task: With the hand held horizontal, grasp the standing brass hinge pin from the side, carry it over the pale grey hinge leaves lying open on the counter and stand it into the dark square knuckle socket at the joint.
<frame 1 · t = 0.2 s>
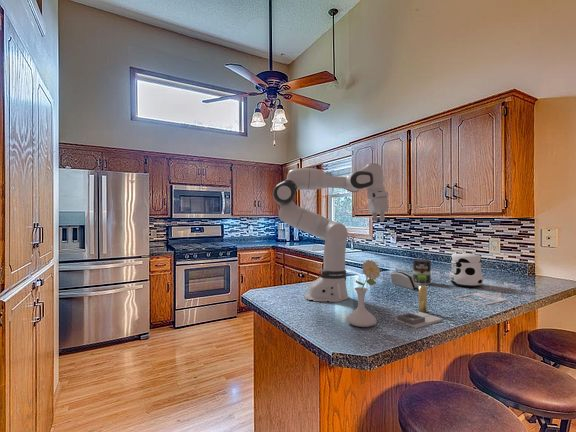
hand: (378, 221, 160), 39 cm above the countertop, tool pointing down, fingers open, 8 cm apart
photo frame: (481, 300, 154), on the countertop
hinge: (403, 286, 183), on the countertop
hinge pin: (422, 311, 134), on the countertop
flower in vase: (363, 324, 119), on the countertop
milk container: (466, 285, 184), on the countertop
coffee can: (421, 283, 191), on the countertop
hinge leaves: (418, 320, 123), on the countertop
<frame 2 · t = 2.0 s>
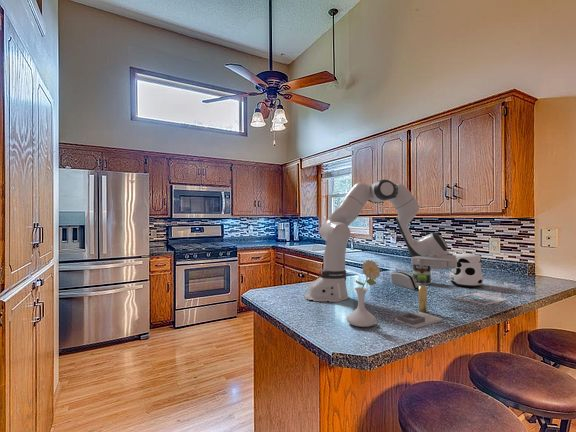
hand: (429, 263, 144), 19 cm above the countertop, tool horizontal, fingers open, 8 cm apart
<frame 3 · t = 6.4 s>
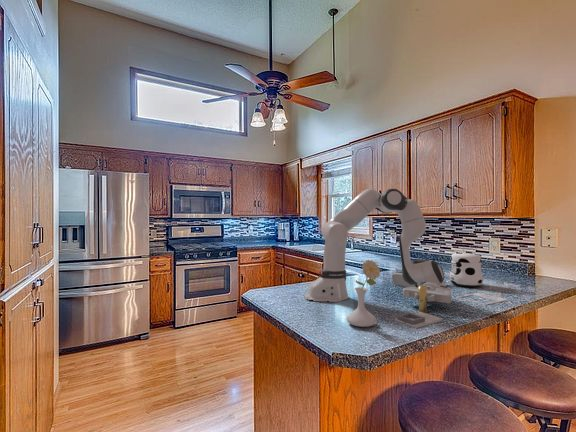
hand: (422, 298, 134), 6 cm above the countertop, tool horizontal, fingers closed on hinge pin, 3 cm apart
hinge pin: (422, 311, 134), on the countertop, touching gripper
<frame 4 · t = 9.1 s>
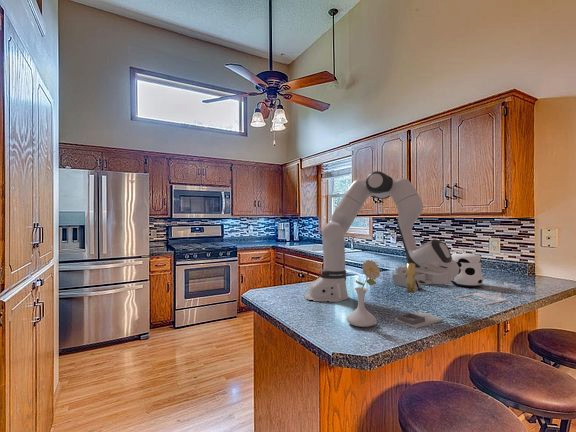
hand: (409, 276, 121), 18 cm above the countertop, tool horizontal, fingers closed on hinge pin, 3 cm apart
hinge pin: (411, 291, 121), point 12 cm above the countertop, touching gripper
when the fingers open (8 cm above the countertop, at t = 11.8 s): hinge pin drops 1 cm, resting on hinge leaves.
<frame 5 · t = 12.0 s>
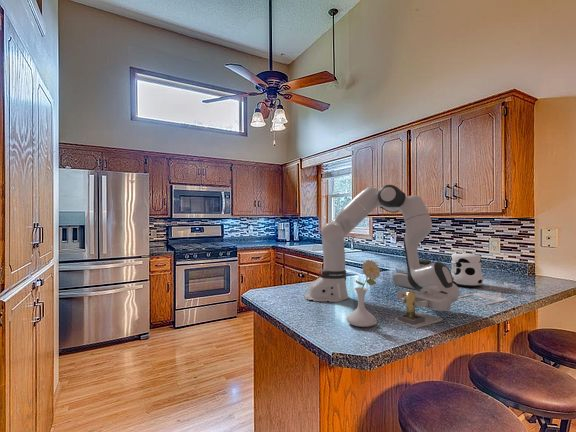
hand: (409, 302, 120), 8 cm above the countertop, tool horizontal, fingers open, 5 cm apart
hinge pin: (410, 320, 121), point 1 cm above the countertop, touching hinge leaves
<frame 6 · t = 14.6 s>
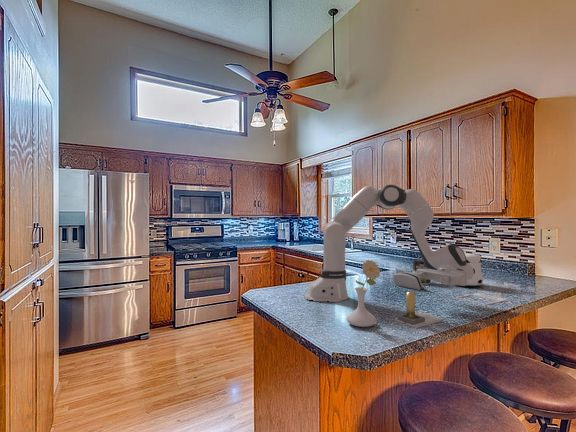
hand: (428, 277, 132), 15 cm above the countertop, tool horizontal, fingers open, 8 cm apart
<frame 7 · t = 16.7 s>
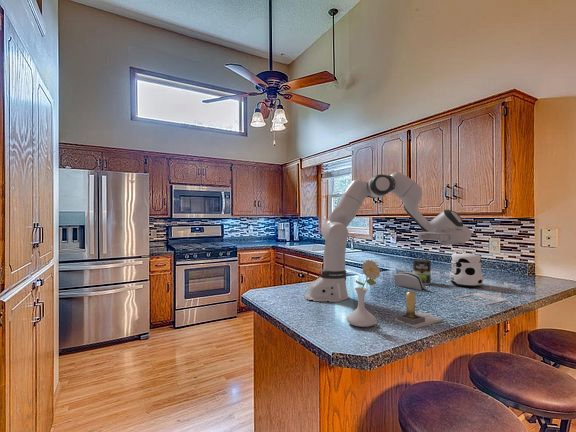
hand: (430, 237, 142), 32 cm above the countertop, tool horizontal, fingers open, 8 cm apart
at the end: hinge pin 0.1 cm from the target spot on the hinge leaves, point 0.8 cm above the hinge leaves's base; hinge pin tilted 0°; the gripper is holding nothing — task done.
